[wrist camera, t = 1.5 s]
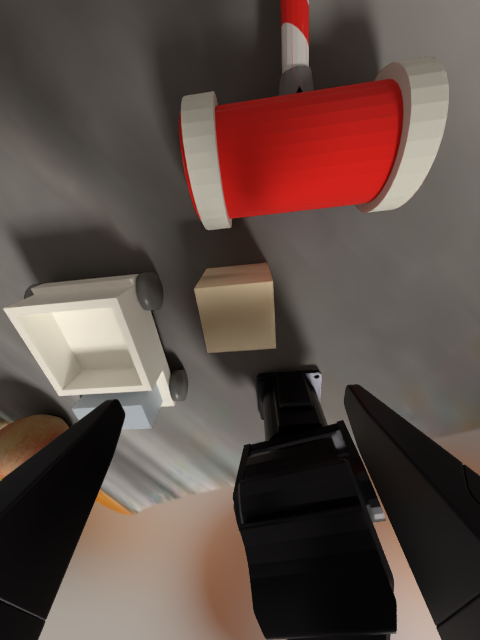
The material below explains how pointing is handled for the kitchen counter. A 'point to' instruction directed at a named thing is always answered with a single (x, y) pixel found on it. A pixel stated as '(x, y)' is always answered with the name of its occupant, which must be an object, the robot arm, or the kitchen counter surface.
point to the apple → (27, 439)
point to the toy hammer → (313, 138)
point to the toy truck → (101, 343)
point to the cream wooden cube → (237, 308)
